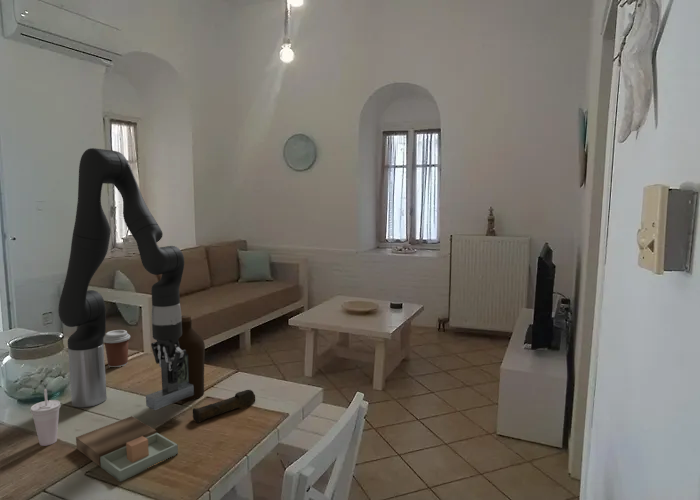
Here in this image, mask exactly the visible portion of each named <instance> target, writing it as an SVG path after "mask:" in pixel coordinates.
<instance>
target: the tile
mask: <svg viewBox="0 0 700 500" xmlns="http://www.w3.org/2000/svg"><path fill="white" fill-rule="evenodd" d="M126 450H127V459H128V460H129V461H131V462H132V463H133V462H135V461H137V460H139V459H142V458H144V457H146V456H148V455H149V449H148V439H147V438H145V437H143V436H141V437H139V438H137V439H134V440H132V441H129V442H127V443H126Z"/></svg>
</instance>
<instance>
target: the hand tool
mask: <svg viewBox="0 0 700 500" xmlns="http://www.w3.org/2000/svg"><path fill="white" fill-rule="evenodd" d="M255 402H256V394H255V393H254V391H253V390H251V389H245V390H242V391H238V392H235V394H234V396H232V397H229V398H226V399H223V400H220V401H218V402H213V403H210V404H207V405H204V406H201V407H198V408H196V407H195V408H194V407H193V409H192V418H193V421H194V420H195V421H196V422H197V424H199V423H200V422H201V421H202V422H205V421H206V420H207V419H210V418H213V417H216V416H218V415H221V414H224V413H227V412H230V411H232V410H236V409H238V410H242V409H245V408H246V407H248V406H250V405H252V404H254V403H255ZM196 422H195V423H196Z"/></svg>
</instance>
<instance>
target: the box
mask: <svg viewBox="0 0 700 500" xmlns="http://www.w3.org/2000/svg"><path fill="white" fill-rule="evenodd" d="M146 438H147V439H148V449H149V455H148V456H146V457H144V458H142V459H139V460H137V461H135V462H133V463H132V462H131V461H129V460H128V459H127V450H126V446H125V447H122V448H120V449H118V450H115V451H113V452H111V453H108V454H106V455H104V456H101V457H100V462H101V466H100V468H101V469H102V470H104V471H105V472H107V473H108V474H109V475H110V476H112V477H113V478H114V479H115V480H116V481H118V482H123V481H126V480H127V479H130V478H131V477H134V476H136V475H138V474H140V473H143V472H145V471H146V470H148V469H149V468H148V467H150V466H152V465H154V464H156V463H158V462H160V461H163V460H165V459H167V460H169V459H171V458H173V457H175V456H177V455H176V454H178V455H179V448H178V445H179V444H177V443H176V442H174V441H172V440H170V439H169V438H167V437H166V436H164V435H162V434H160V433H158V432H156V433H155V434H153V435H151V436H148V437H146ZM172 456H173V457H172ZM170 457H171V458H170ZM168 458H169V459H168ZM165 461H166V460H165ZM163 462H164V461H163ZM147 468H148V469H147ZM145 469H146V470H145Z"/></svg>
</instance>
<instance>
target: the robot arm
mask: <svg viewBox="0 0 700 500" xmlns="http://www.w3.org/2000/svg"><path fill="white" fill-rule="evenodd" d="M77 183H78V186H77V187H78V188H77V189H78V190H77V203H76V211H75V220H74V226H73V232H72V238H71V243H70V245H71V246H70V254H69V259H68V266H67V270H66V275H65V280H64V284H63V286H62V290H61V294H60V298H59V302H58V317H59V319H60V321H61V322H62V324H63V325H64V326H66V327H69V328H74V327H77V328H76V330H75V331H74V332H73V333H72V334H71V335H70V336H69V337H68V338H67V353H68V354H67V355H68V364H69V365H68V366H69V380H70V381H69V382H70V398H71V399H70V400H71V406H73V407H74V408H90V407H94V406H97V405H100V404H102V403H103V402H104V401H106V400H107V399H108V398H107V397H108V395H107V377H106V364H105V363H106V362H105V361H106V360H105V342H103V338H104V337H105V334H106V333H107V332H106V329H107V327H106V326H107V325H106V324H107V323H106V322H107V319H106V318H107V317H106V314H107V313H106V310H107V308H106V303H105V300H104V297H103V296H102V294H101V293H99V292H98V291H96V290H90V289H89V285H90V282H91V280H92V278H93V277H94V275H95V273H96V272H97V271H98V269H99V268H100V266H101V265H102V263H103V262H104V260H105V258H106V256H107V253H108V250H109V247H110V246H109V245H110V239H111V227H110V223H109V221H108V218H107V216H106V214H105V212H104V209H103V207H102V202H101V201H102V190H103V184H105V185H106V184H107V185H108V184H109V185H111V184H112V185H113V186H114V187H115V188H116V189H117V191H118V192H119V194H120V197H122V198H121V200H122V216H123V220H124V223H125V226H126V227H127V229H128V230H129V233H130V234H131V235H132V238H133V239H134V240H135V242H136V245H137V249H138V253H139V257H140V260H141V261H140V262H141V264H142V266H143V268H144V269H145V270H146V271H147V272H148V273H149V274H151V275H154V276H158V275H161V277H160V279H159V280H158V281H157V282H155V283H154V284H153V285H152V286H151V291H150V292H151V329H152V330H151V331H152V338H153V340H156V341H154V342H152V343H150V345H151V346H150V347H151V349H152V352H153V357H154V360H155V364H156V365H158V364H159V368H161V359H164V358H165V360H166V363H168V369H169V383H170V384H173V383H176V382H177V381H178V374H177V370H178V369H180V368H182V367H183V363H184V359H185V355H186V350H181V349H180V348H179V347H180V345H179V341H178V339H179V338H180V337H181V336H182V317H181V316H182V309H181V307H182V306H181V303H180V302H181V301H180V299H181V298H180V286H181V283H182V278H183V273H184V269H185V256H184V254H183V252H182V250H181V249H180V248H179V247H177V246H175V245H167V246H161V247H159V245H158V243H159V242H160V241H161V240H162V238H163V237H164V236H163V230H162V229H161V227H160V225H159V223H158V222H157V220H156V219H155V217H154V216H153V214H152V213H151V211H150V209H149V208H148V205H147V203H146V202H145V200H144V197H143V195H142V192H141V190H140V188H139V185H138V182H137V181H136V178H135V175H134V172H133V170H132V168H131V165H130V164H129V161H128V160H127V158H126V156H125V155H124V154H123V153H121V152H119V151H116V150H111V149H102V148H94V147H93V148H91V147H90V148H88V149H86V150H85V151H84V152H83V153H82V155H81V157H80V160H79V166H78V182H77ZM172 357H174V358H172ZM169 358H171V359H169ZM172 362H173V366H172ZM178 363H179V364H178Z"/></svg>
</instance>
